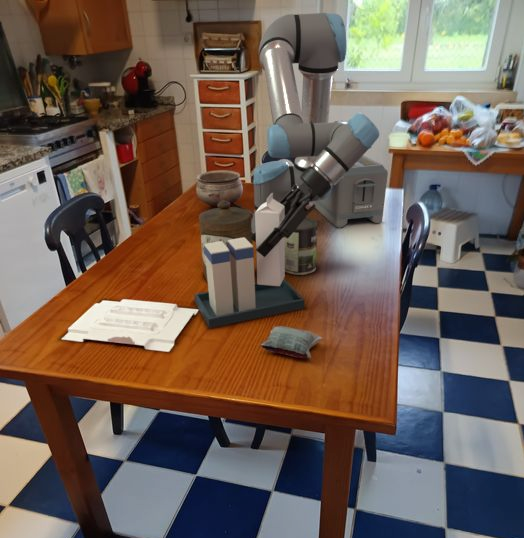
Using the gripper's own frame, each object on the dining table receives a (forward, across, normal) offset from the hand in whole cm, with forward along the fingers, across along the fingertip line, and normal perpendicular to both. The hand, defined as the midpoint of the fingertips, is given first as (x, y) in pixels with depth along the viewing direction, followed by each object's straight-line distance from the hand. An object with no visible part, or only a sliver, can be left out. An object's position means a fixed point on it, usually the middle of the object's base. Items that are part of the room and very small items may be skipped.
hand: (257, 247), depth 121 cm
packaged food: (+9, -24, -13) cm, 29 cm away
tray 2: (+34, -4, +12) cm, 37 cm away
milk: (+5, 0, -9) cm, 10 cm away
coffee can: (0, +19, -22) cm, 29 cm away
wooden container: (+15, +19, -7) cm, 26 cm away
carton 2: (+14, -1, -8) cm, 16 cm away
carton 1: (+18, -2, -3) cm, 18 cm away
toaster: (-21, +63, -44) cm, 79 cm away
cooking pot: (+11, +87, -11) cm, 89 cm away
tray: (+13, -1, -9) cm, 16 cm away
